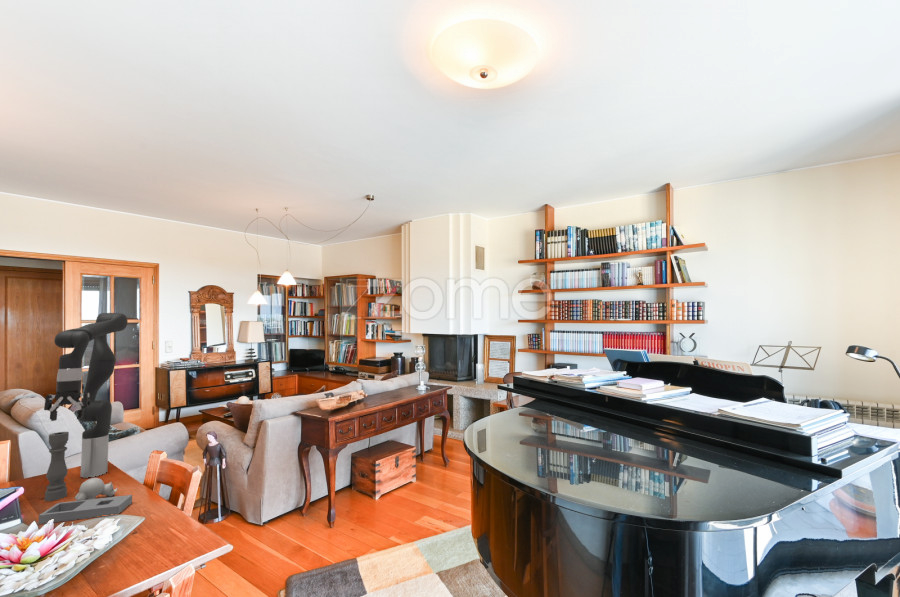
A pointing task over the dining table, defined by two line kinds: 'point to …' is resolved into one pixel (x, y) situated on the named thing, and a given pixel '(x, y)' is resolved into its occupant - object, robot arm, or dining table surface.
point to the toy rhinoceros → (94, 489)
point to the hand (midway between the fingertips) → (66, 419)
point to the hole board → (85, 509)
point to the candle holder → (57, 467)
